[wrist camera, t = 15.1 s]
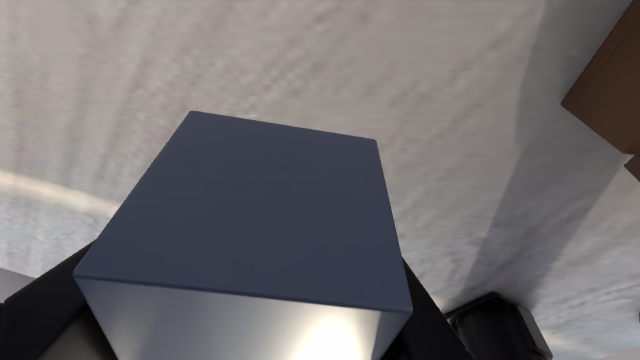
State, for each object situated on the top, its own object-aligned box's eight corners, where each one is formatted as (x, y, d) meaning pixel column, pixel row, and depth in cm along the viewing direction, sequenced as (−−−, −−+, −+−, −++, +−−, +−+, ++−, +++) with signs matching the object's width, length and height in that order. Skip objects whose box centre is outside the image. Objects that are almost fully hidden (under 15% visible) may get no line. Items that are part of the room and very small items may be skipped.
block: (339, 252, 10) (345, 413, 7) (201, 235, 10) (136, 398, 7) (377, 138, 8) (416, 312, 4) (189, 108, 7) (67, 274, 4)
